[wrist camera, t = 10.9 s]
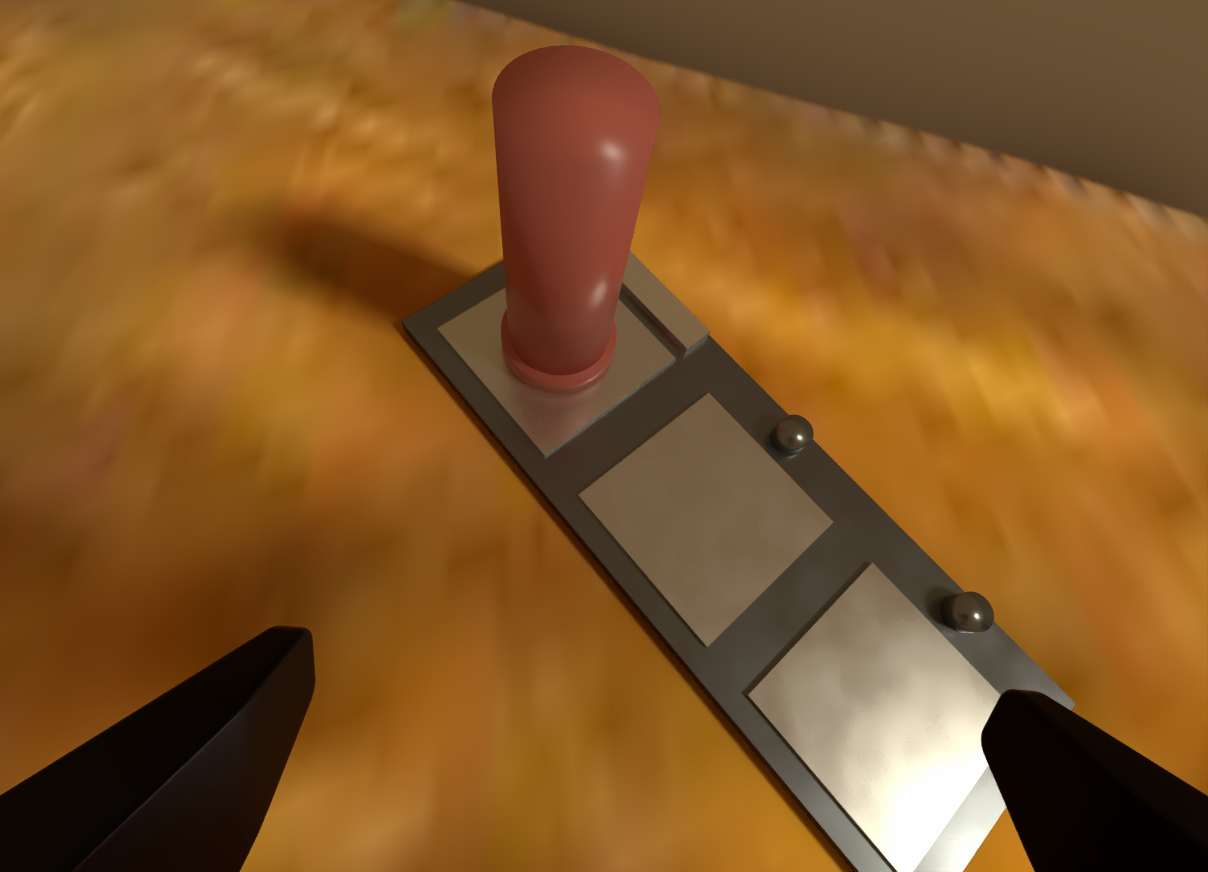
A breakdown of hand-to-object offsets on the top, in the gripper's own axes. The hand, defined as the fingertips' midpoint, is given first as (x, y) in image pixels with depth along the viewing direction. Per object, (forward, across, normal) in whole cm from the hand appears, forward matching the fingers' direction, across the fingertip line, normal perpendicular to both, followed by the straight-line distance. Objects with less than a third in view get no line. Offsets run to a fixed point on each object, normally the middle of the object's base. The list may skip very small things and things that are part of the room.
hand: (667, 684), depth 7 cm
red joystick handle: (+18, +2, 0) cm, 18 cm away
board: (+14, -5, +5) cm, 16 cm away
